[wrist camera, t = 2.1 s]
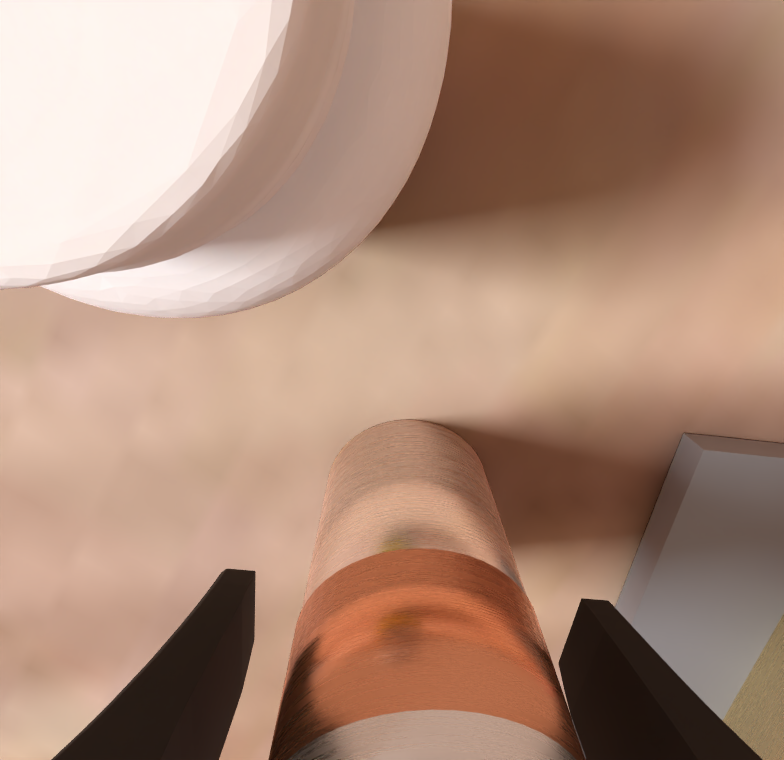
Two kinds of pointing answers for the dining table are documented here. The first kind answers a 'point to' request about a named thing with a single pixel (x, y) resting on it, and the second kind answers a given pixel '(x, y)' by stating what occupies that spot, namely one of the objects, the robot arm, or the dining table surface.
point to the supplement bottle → (205, 143)
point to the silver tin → (417, 617)
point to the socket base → (712, 564)
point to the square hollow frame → (762, 701)
